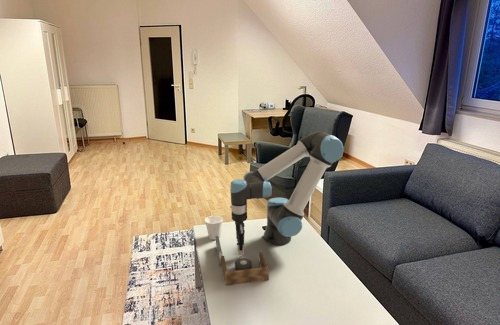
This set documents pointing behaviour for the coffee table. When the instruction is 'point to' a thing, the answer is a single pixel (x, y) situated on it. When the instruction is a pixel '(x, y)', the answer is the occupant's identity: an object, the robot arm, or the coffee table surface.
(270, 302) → the coffee table surface
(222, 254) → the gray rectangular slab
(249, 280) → the bay
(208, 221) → the cup
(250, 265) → the coil
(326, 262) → the coffee table surface
